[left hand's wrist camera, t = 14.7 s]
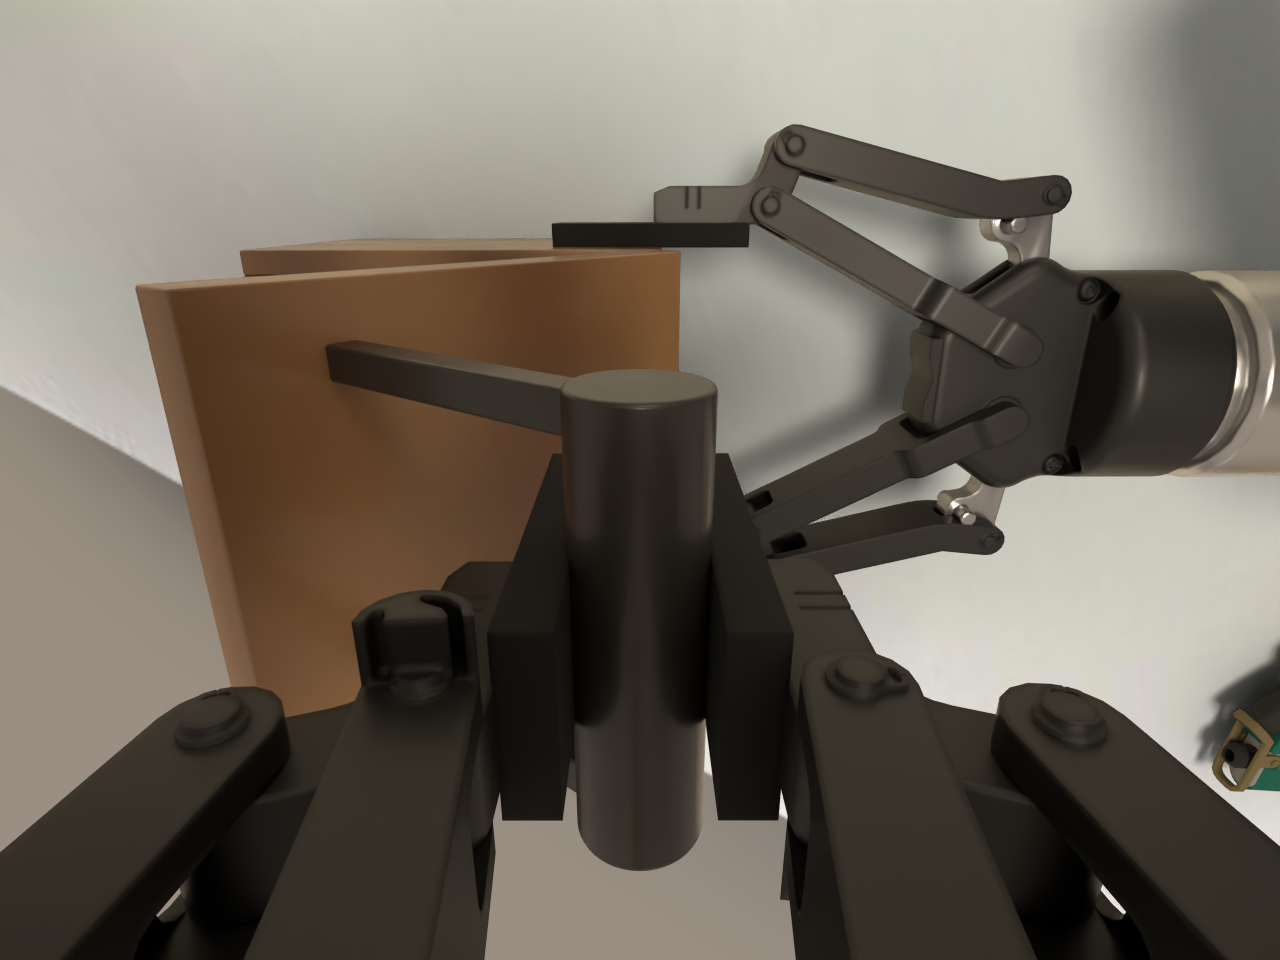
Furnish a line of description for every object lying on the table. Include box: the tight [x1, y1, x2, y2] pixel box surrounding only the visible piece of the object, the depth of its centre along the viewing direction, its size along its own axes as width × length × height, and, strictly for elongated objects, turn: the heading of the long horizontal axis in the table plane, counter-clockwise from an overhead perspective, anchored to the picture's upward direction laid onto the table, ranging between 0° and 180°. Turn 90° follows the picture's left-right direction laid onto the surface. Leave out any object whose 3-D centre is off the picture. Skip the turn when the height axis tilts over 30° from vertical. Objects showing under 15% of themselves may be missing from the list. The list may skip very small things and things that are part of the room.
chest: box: [240, 239, 663, 278], centre depth 28 cm, size 13×9×10 cm
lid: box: [135, 250, 718, 871], centre depth 16 cm, size 14×9×9 cm
